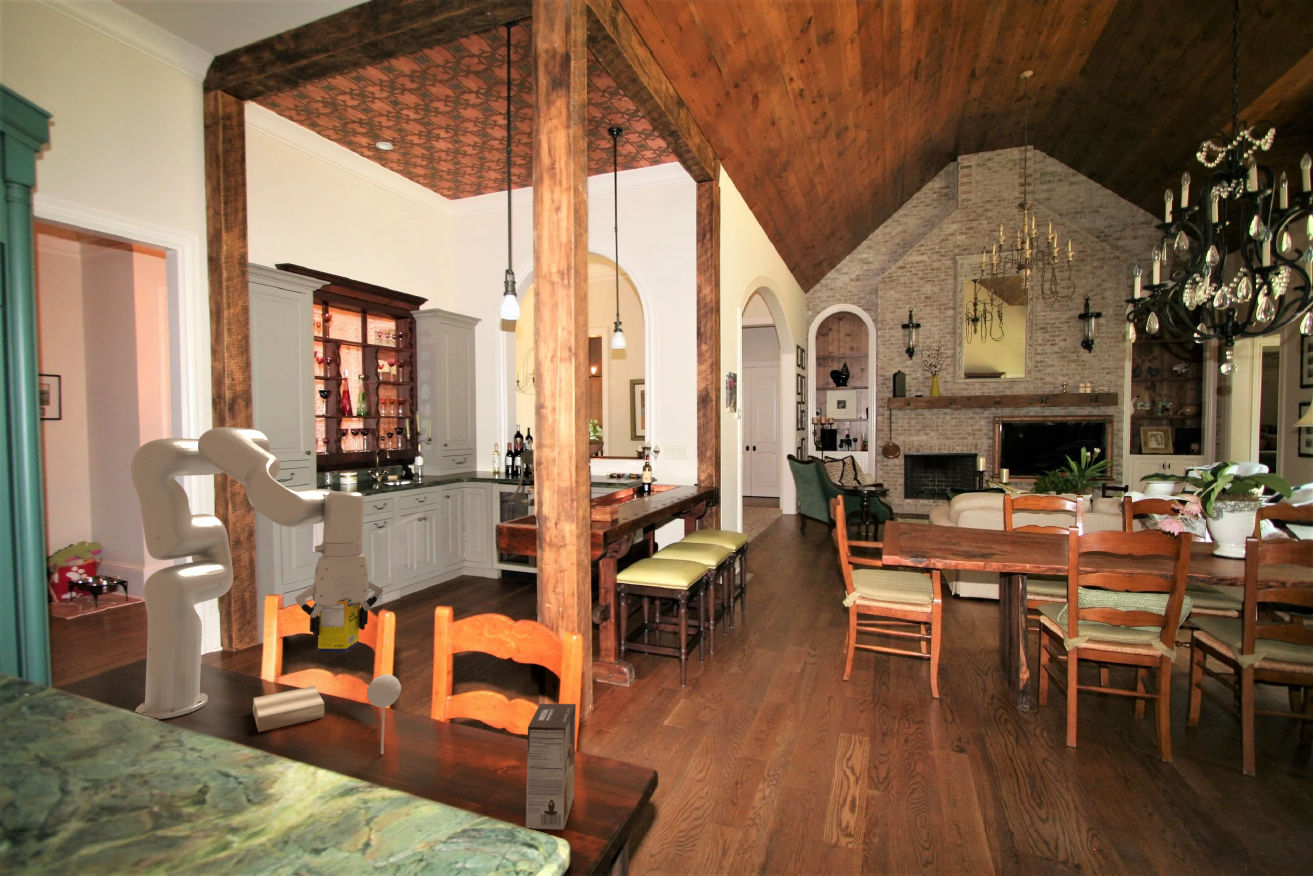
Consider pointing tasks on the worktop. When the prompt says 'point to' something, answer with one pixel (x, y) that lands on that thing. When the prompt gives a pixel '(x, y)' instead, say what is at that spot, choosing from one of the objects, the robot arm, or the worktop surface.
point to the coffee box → (550, 766)
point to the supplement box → (339, 627)
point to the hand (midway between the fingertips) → (339, 631)
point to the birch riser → (287, 708)
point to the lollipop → (383, 696)
